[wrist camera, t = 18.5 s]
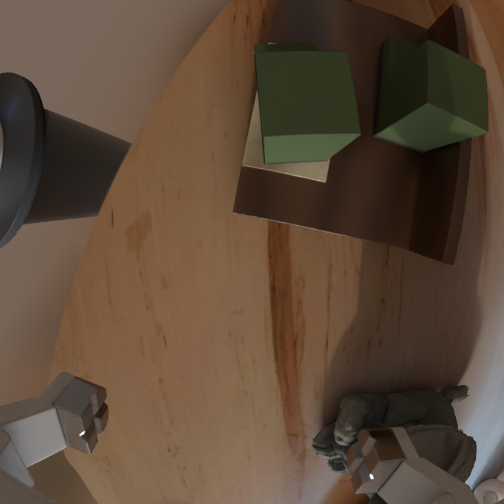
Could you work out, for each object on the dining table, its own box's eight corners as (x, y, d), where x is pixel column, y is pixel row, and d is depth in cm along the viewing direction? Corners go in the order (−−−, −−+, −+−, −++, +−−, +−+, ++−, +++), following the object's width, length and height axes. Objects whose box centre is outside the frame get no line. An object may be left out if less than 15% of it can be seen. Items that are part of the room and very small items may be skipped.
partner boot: (372, 136, 23) (425, 102, 14) (380, 45, 22) (421, -11, 12) (422, 153, 23) (489, 133, 13) (427, 63, 22) (479, 20, 12)
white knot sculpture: (451, 512, 37) (463, 536, 28) (460, 490, 36) (475, 516, 27) (488, 491, 36) (501, 512, 28) (500, 466, 35) (517, 489, 26)
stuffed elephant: (278, 461, 35) (278, 632, 8) (363, 343, 31) (483, 549, 5) (382, 480, 35) (422, 608, 8) (464, 382, 32) (570, 501, 5)
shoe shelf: (238, 211, 30) (221, 214, 19) (280, 11, 26) (283, -51, 15) (397, 246, 30) (453, 265, 19) (419, 51, 26) (462, 8, 15)
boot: (263, 164, 24) (261, 137, 14) (254, 58, 23) (246, -10, 13) (327, 161, 24) (363, 134, 14) (313, 55, 22) (332, -11, 12)
